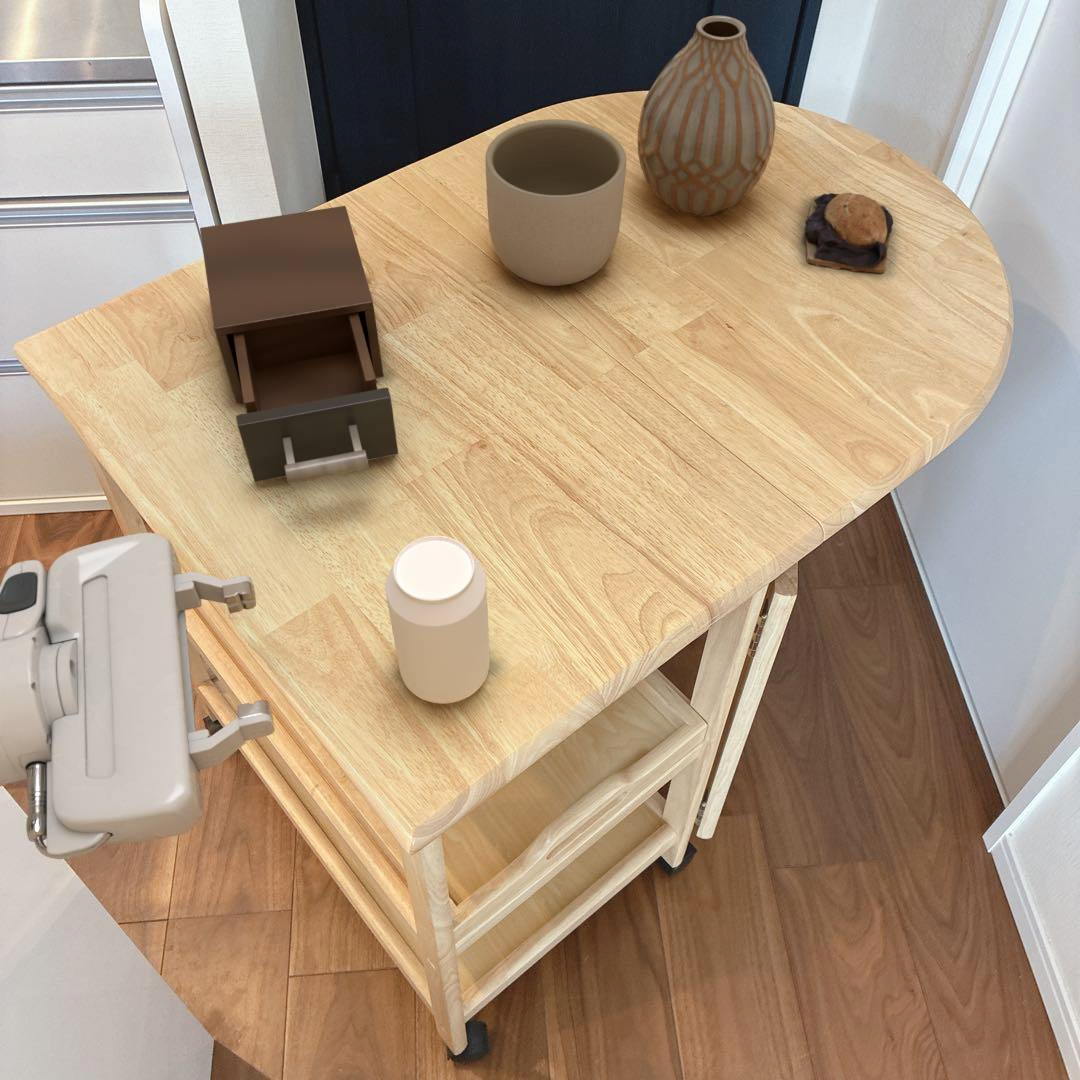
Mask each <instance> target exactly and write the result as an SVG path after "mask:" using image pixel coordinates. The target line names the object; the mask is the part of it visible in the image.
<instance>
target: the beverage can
mask: <svg viewBox="0 0 1080 1080" xmlns="http://www.w3.org/2000/svg"><path fill="white" fill-rule="evenodd" d="M384 588H385V589H384V590H385V597H386V603H387V609H388V613H389V618H390V619H389V620H390V624H391V630H392V635H393V642H394V646H395V651H396V658H397V663H398V667H399V668H398V669H399V672H400V676H401V679H402V681H403V683H404V684H405V686H406V688H407V689H408V690H409V691H410V692H411V693H412V694H413V695H414V696H416V697H417V698H419V699H420V700H423V701H426V702H428V703H433V704H453V703H457V702H460V701H463V700H465V699H467V698H469V697H470V696H472V695H473V694H475V693H476V692H477V691H478V690H479V689H480V688H481V687H482V685H483V684H484V683H485V681H486V679H487V677H488V675H489V671H490V665H491V656H490V655H491V653H490V631H489V630H490V629H489V628H490V627H489V609H488V591H487V589H488V587H487V578H486V573H485V570H484V569H483V567H482V565H481V563H480V562H479V561H478V560H477V558H476V557H475V556H473V554H472V553H471V551H470V549H469V548H468V547H467V546H466V545H465V544H463V543H462V542H460V541H458V540H457V539H455V538H452V537H449V536H444V535H427V536H423V537H419V538H416V539H414V540H413V541H411V542H409V543H408V544H406V545H405V546H404V547H403V548H402V549H401V550H400V551H399V553H398V554H397V556H396V557H395V560H394V562H393V565H392V566H391V568H390V569H389V571H388V574H387V576H386V580H385V587H384Z"/></svg>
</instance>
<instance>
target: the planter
mask: <svg viewBox="0 0 1080 1080" xmlns="http://www.w3.org/2000/svg"><path fill="white" fill-rule="evenodd" d="M625 151H626V150H625V149H624V147H623V146H622V144H621V143H620V142H619V141H618V140H617V139H616V138H615V137H614V135H613V136H612V135H611V134H610V133H609V132H607V131H605V130H603V129H601V128H599V127H597V126H594V125H593V124H592V125H591V124H589V123H585V122H583V121H582V122H581V121H577V120H571V119H561V118H560V119H559V118H551V119H550V118H549V119H547V118H546V119H538V120H531V121H528V122H527V121H526V122H524V123H520V124H517V125H514V126H512V127H510V128H507V129H506V130H504V131H502V132H501V133H499V134H498V135H497V136H496V137H494V139H493V140H492V141H491V142H490V143H489V145H488V146H487V149H486V152H485V156H484V157H485V158H484V159H485V160H484V162H485V163H484V164H485V166H484V167H485V182H486V208H487V219H488V221H487V222H488V229H489V234H490V239H491V243H492V245H493V248H494V251H495V253H496V255H497V257H498V259H500V261H501V262H502V264H503V265H504V266H505V267H506V268H507V269H508V270H509V271H510V272H511V273H512V274H514V275H515V276H517V277H519V278H521V279H522V280H525V281H528V282H530V283H533V284H536V285H542V286H548V287H549V286H550V287H551V286H553V287H558V286H567V285H572V284H576V283H579V282H581V281H584V280H586V279H588V278H590V277H591V276H594V274H596V273H597V272H598V271H599V270H601V269H602V268H603V266H605V264H606V263H607V261H608V260H609V258H610V257H611V256H612V253H613V251H614V249H615V247H616V244H617V240H618V237H619V232H620V228H621V220H622V212H623V203H624V191H625V190H624V189H625V181H626V173H627V155H626V152H625Z"/></svg>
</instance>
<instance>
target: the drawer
mask: <svg viewBox="0 0 1080 1080" xmlns="http://www.w3.org/2000/svg"><path fill="white" fill-rule="evenodd" d="M233 336H234V342H235V348H236V355H237V361H238V368H239V374H240V380H241V387H242V393H243V400H244V401H243V405H244V408H245V412H246V413H241V414H236V415H235V419H236V425H237V429H238V432H239V436H240V440H241V443H242V445H243V449H244V452H245V456H246V459H247V462H248V465H249V469H250V472H251V476H252V479H253V482H255V483H259V482H264V481H268V480H273V479H279V478H285V477H286V482H287V483H288V484H295V483H300V482H305V481H311V480H315V479H320V478H325V477H330V476H331V477H332V476H335V475H340V474H346V473H351V472H355V471H356V472H357V471H360V470H365V469H369V468H370V466H369V461H371V460H375V459H380V458H386V457H391V456H396V455H399V447H398V441H397V434H396V425H395V419H394V412H393V404H392V397H391V394H390V393H391V392H390V389H389V387H383V388H382V387H381V388H378V383H377V377H375V374H374V370H373V367H372V363H371V359H370V355H369V352H368V348H367V344H366V341H365V337H364V333H363V329H362V326H361V322H360V318H359V315H358V312H355V313H349V314H343V315H337V316H331V317H325V318H320V319H314V320H308V321H302V322H296V323H290V324H284V325H279V326H273V327H267V328H261V329H255V330H249V331H243V332H237V333H233Z"/></svg>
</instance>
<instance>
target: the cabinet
mask: <svg viewBox="0 0 1080 1080" xmlns="http://www.w3.org/2000/svg"><path fill="white" fill-rule="evenodd" d="M199 232H200V233H199V234H200V240H201V246H202V247H201V248H202V253H203V260H204V268H205V269H204V270H205V275H206V276H205V277H206V282H207V290H208V297H209V303H210V304H209V305H210V311H211V312H210V313H211V319H212V324H213V330H214V331H213V332H214V335H215V337H216V341H217V344H218V347H219V351H220V354H221V357H222V361H223V365H224V368H225V371H226V374H227V377H228V381H229V384H230V388H231V391H232V394H233V398H234V401H235V403H244V400H243V393H242V387H241V380H240V374H239V368H238V361H237V355H236V348H235V342H234V336H233V333H237V332H243V331H249V330H255V329H261V328H267V327H273V326H279V325H284V324H290V323H296V322H302V321H308V320H314V319H320V318H325V317H331V316H337V315H343V314H349V313H355V312H358V315H359V318H360V322H361V326H362V329H363V333H364V337H365V341H366V344H367V348H368V352H369V355H370V359H371V363H372V367H373V370H374V374H375V378H380V377H384V369H383V363H382V355H381V347H380V341H379V335H378V328H377V327H378V326H377V320H376V313H375V307H374V305H375V304H374V300H373V297H372V294H371V290H370V286H369V283H368V280H367V275H366V272H365V269H364V265H363V263H362V258H361V254H360V251H359V248H358V245H357V241H356V237H355V234H354V231H353V227H352V224H351V220H350V217H349V212H348V210H347V207H346V205H341V206H334V207H327V208H322V209H321V208H320V209H314V210H307V211H301V212H294V213H289V214H288V213H287V214H281V215H274V216H267V217H262V218H261V217H260V218H255V219H247V220H242V221H236V222H235V221H234V222H229V223H222V224H216V225H210V226H202V227H200V228H199Z"/></svg>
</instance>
